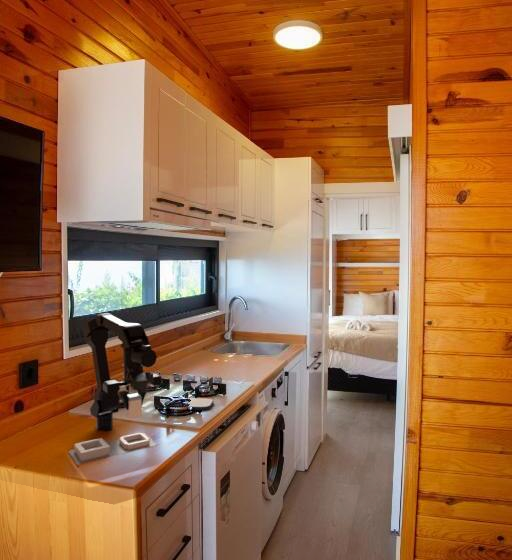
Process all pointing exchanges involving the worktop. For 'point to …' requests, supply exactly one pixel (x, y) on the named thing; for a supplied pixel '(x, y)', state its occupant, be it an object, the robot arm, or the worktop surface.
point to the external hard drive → (200, 403)
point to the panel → (112, 450)
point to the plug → (134, 406)
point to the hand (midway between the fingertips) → (133, 408)
